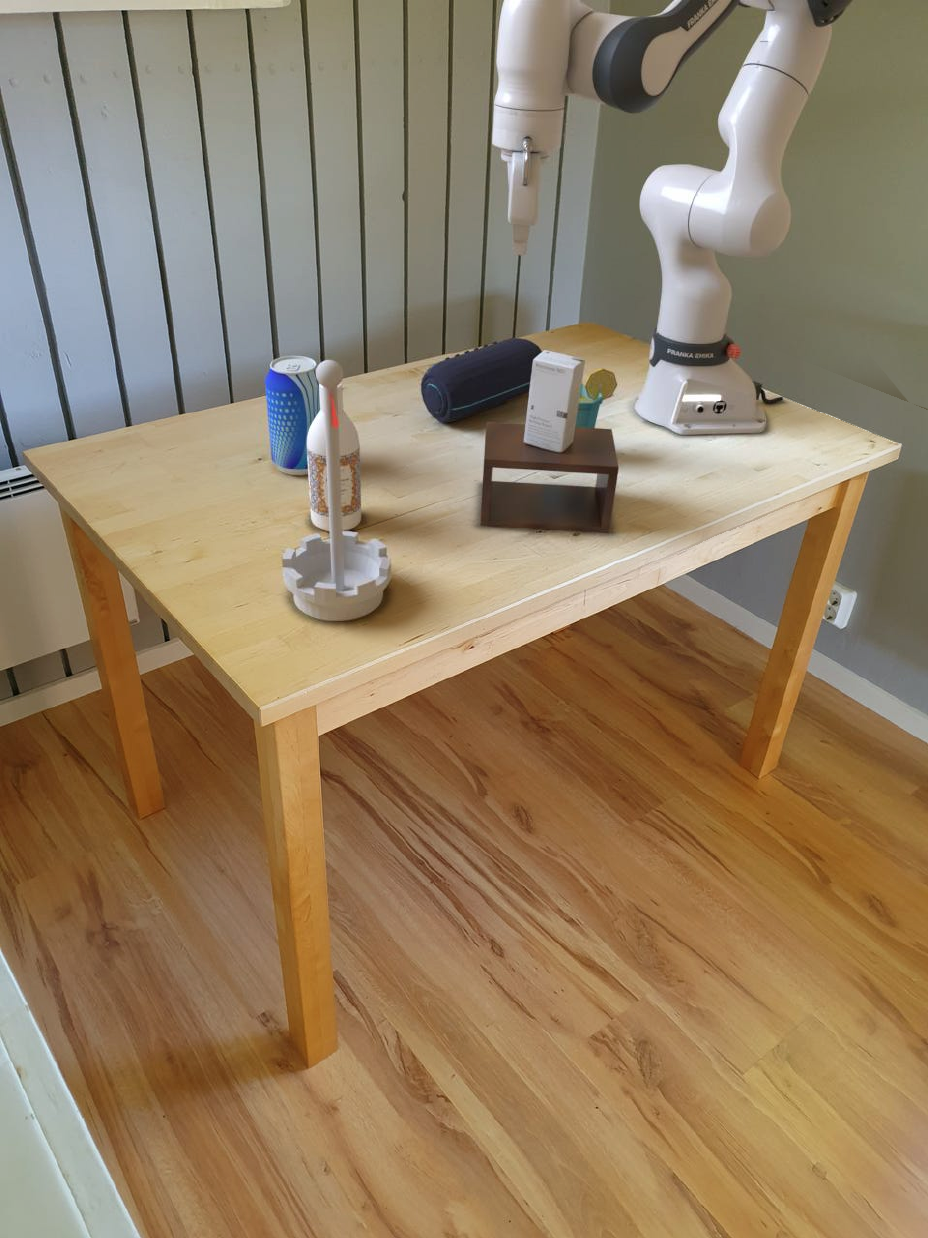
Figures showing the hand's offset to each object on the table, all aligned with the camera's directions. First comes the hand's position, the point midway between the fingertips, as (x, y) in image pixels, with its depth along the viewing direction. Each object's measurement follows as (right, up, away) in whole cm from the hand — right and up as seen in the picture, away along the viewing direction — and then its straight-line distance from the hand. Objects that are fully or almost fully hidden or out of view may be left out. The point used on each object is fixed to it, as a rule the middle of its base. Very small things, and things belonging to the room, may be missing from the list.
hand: (519, 244), depth 130 cm
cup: (+9, -25, +23) cm, 35 cm away
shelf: (+4, -35, +9) cm, 36 cm away
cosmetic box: (+4, -27, +3) cm, 27 cm away
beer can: (-32, -27, +17) cm, 46 cm away
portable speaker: (-4, -14, +37) cm, 40 cm away
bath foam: (-25, -37, +4) cm, 45 cm away
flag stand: (-23, -48, -11) cm, 54 cm away
